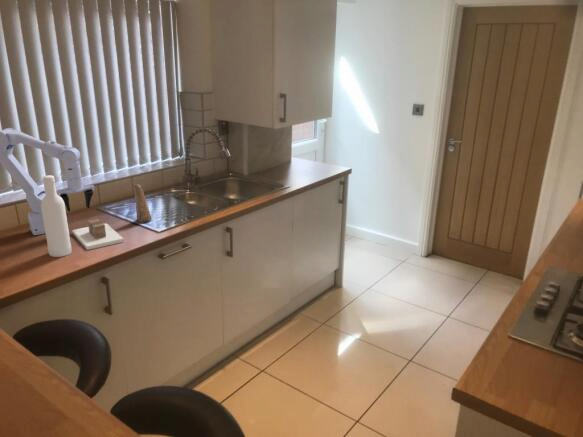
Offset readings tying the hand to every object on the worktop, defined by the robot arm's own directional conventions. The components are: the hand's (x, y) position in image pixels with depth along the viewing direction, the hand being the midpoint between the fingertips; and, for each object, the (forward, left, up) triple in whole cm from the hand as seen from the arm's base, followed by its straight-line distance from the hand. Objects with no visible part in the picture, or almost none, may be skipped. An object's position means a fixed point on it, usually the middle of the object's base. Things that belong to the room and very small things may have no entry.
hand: (78, 209), depth 198 cm
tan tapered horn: (+26, -4, -10) cm, 28 cm away
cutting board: (+3, -13, -9) cm, 16 cm away
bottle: (-13, -20, -10) cm, 26 cm away
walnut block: (+3, -13, -8) cm, 15 cm away
